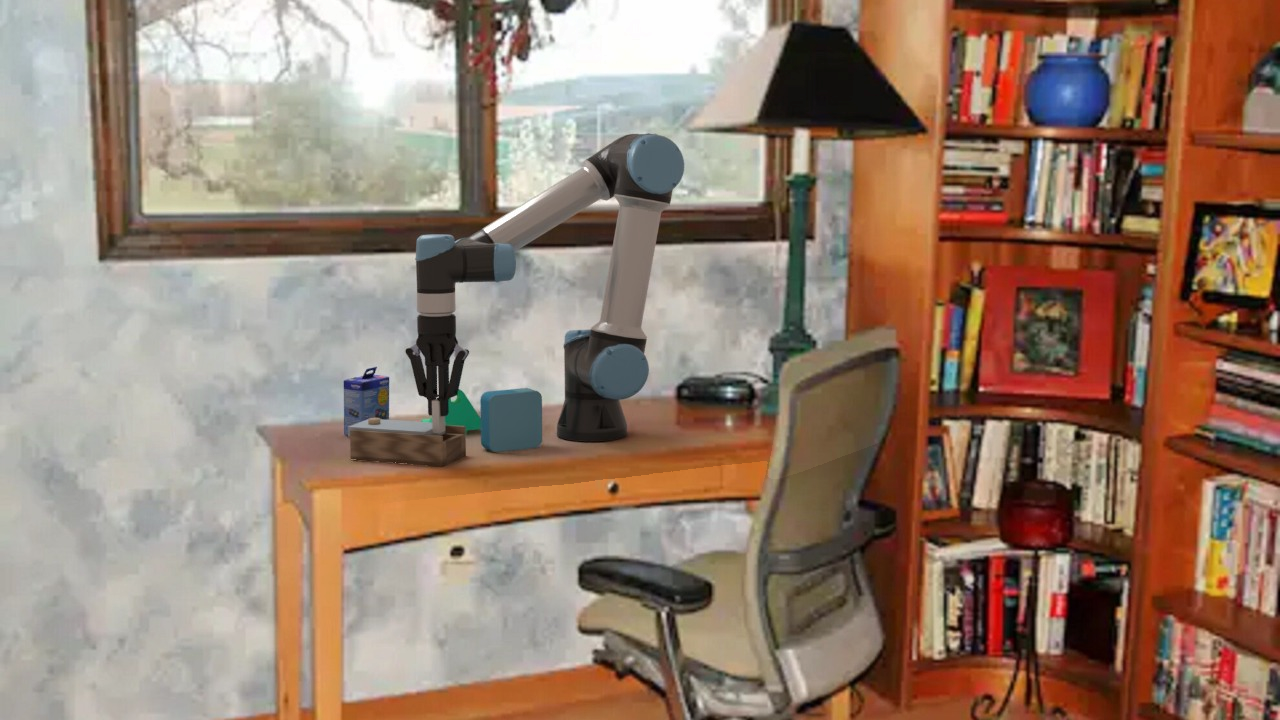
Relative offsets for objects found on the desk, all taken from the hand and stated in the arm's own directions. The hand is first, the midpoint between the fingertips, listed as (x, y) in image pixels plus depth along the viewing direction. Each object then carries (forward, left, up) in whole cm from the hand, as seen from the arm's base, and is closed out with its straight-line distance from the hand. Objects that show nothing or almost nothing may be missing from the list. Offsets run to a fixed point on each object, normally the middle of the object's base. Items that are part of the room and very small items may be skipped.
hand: (438, 431), depth 304 cm
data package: (-9, -15, -6) cm, 19 cm away
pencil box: (+7, 0, -6) cm, 9 cm away
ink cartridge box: (+27, -20, -6) cm, 34 cm away
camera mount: (+10, -27, -6) cm, 30 cm away
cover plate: (+9, 0, -1) cm, 9 cm away
